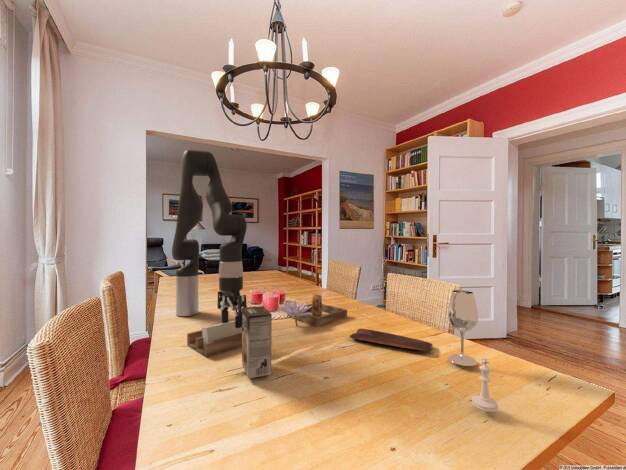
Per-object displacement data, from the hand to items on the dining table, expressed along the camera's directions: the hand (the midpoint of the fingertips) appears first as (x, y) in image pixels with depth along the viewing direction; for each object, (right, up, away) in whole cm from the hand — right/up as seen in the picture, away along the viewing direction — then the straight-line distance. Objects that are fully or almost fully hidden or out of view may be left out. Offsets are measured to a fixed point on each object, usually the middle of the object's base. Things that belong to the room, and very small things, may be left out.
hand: (231, 325), depth 97 cm
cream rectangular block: (-1, -6, +1) cm, 6 cm away
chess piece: (+64, -8, -33) cm, 72 cm away
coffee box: (+11, -7, -16) cm, 21 cm away
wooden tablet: (+55, -7, +8) cm, 56 cm away
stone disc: (+28, -7, +33) cm, 44 cm away
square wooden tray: (+28, -7, +33) cm, 44 cm away
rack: (-3, -7, +3) cm, 8 cm away
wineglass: (+70, -7, -11) cm, 71 cm away
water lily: (+20, -7, +21) cm, 30 cm away
